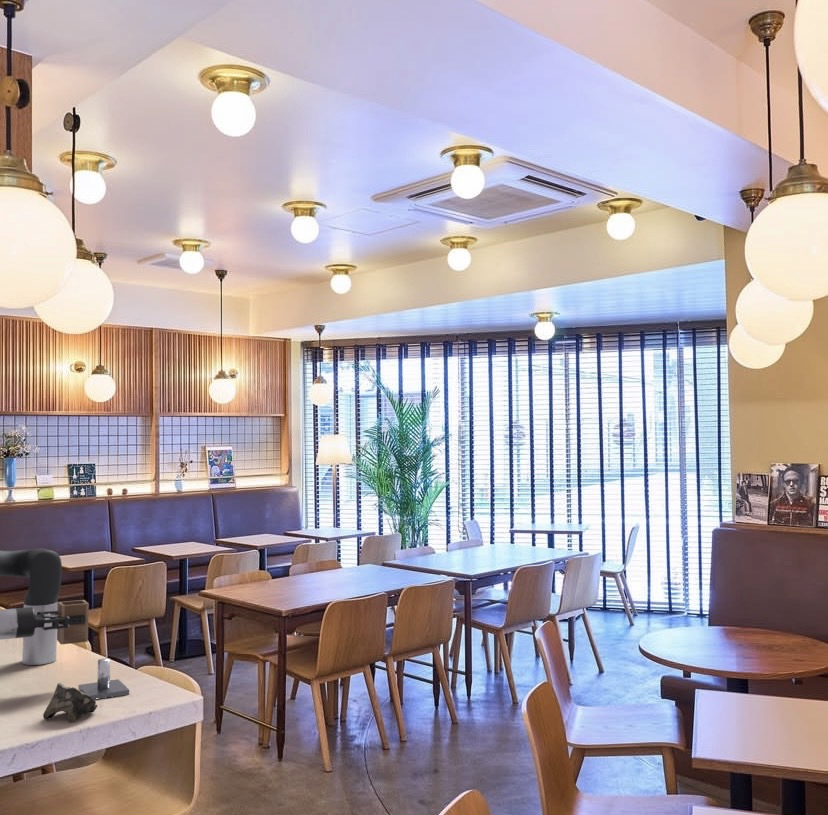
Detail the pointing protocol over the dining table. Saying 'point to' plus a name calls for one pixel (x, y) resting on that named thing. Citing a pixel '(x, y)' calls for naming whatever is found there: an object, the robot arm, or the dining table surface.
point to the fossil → (69, 703)
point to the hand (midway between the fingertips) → (82, 617)
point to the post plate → (104, 692)
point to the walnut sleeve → (73, 631)
